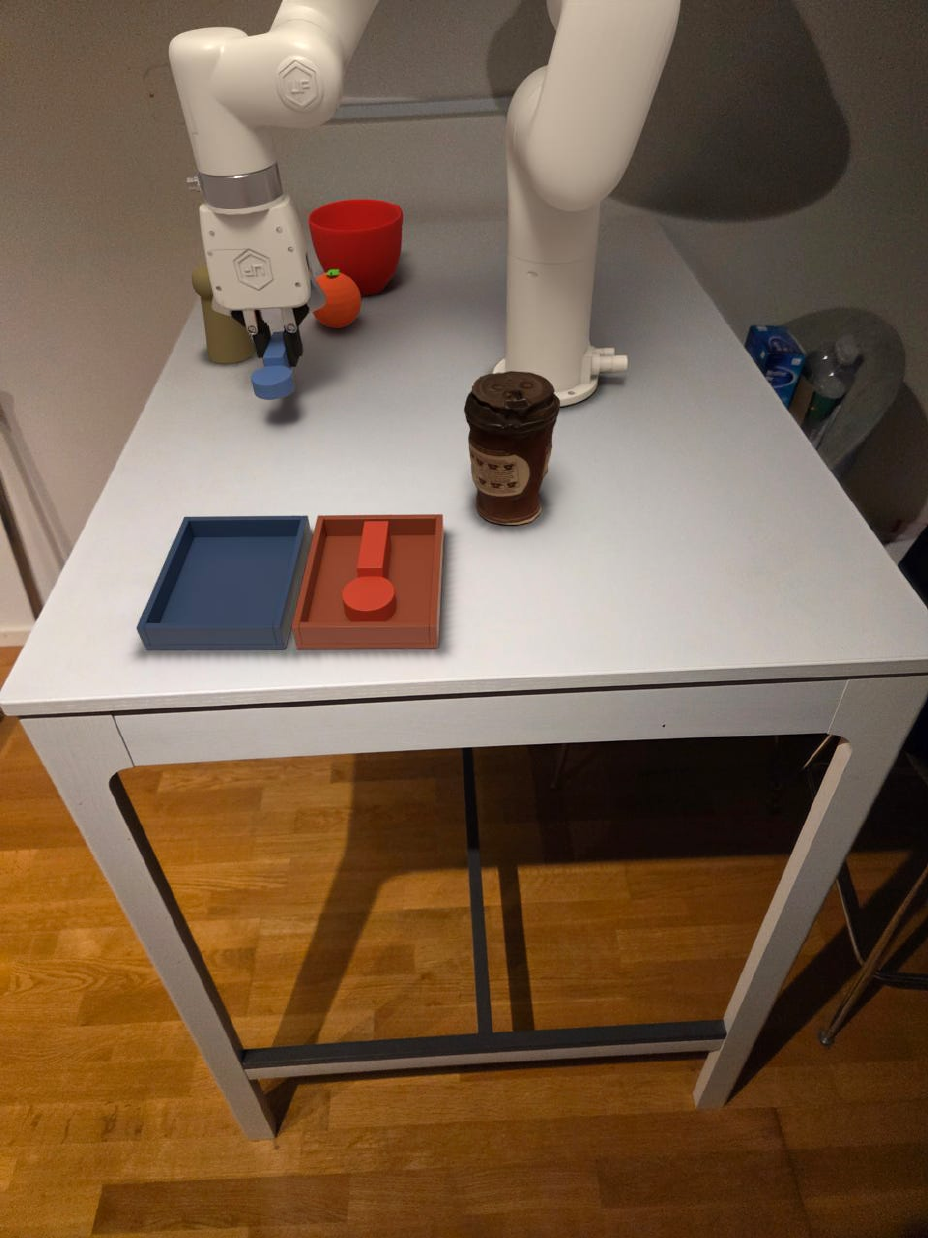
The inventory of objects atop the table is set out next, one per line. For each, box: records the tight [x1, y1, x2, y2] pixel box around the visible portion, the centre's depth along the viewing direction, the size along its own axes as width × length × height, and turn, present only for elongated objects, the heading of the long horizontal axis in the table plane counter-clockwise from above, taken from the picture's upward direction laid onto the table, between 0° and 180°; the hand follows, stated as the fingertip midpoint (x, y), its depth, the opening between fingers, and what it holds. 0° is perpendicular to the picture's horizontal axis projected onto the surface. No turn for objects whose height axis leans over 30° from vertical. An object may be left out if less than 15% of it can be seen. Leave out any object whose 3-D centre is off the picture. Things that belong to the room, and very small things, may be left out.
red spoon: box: [342, 521, 396, 622], centre depth 69 cm, size 11×4×3 cm, turn 179°
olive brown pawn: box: [191, 262, 256, 364], centre depth 99 cm, size 6×6×11 cm
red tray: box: [291, 513, 445, 650], centre depth 69 cm, size 12×15×3 cm
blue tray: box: [135, 515, 313, 651], centre depth 70 cm, size 12×15×3 cm
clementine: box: [311, 269, 362, 329], centre depth 106 cm, size 8×7×7 cm
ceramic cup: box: [308, 198, 404, 297], centre depth 115 cm, size 13×17×10 cm
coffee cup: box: [463, 371, 561, 526], centre depth 73 cm, size 9×8×13 cm
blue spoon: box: [250, 330, 296, 401], centre depth 88 cm, size 11×4×3 cm, turn 179°
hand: (282, 360), depth 91 cm, fingers closed on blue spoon, 2 cm apart
